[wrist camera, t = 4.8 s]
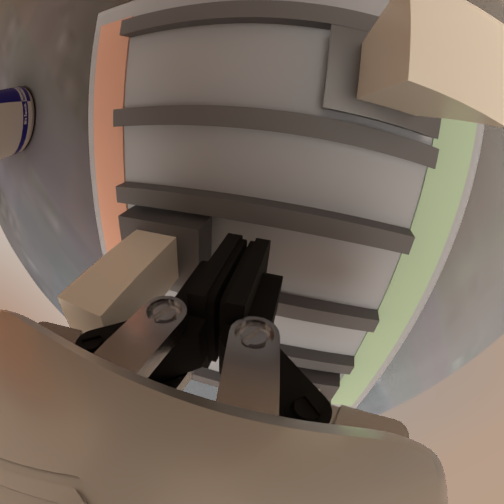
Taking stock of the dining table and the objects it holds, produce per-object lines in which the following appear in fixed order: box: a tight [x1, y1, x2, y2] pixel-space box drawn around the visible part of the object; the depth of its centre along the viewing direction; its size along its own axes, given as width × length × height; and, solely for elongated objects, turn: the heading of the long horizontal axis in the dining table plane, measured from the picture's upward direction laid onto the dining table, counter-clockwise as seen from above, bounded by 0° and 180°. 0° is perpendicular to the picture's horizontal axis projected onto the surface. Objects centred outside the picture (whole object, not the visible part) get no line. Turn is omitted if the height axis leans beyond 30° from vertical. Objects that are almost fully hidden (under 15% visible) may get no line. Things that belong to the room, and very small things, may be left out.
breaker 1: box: [57, 205, 212, 333], centre depth 10 cm, size 3×4×6 cm
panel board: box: [88, 0, 485, 409], centre depth 12 cm, size 24×18×2 cm
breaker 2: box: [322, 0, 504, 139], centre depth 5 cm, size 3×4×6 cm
